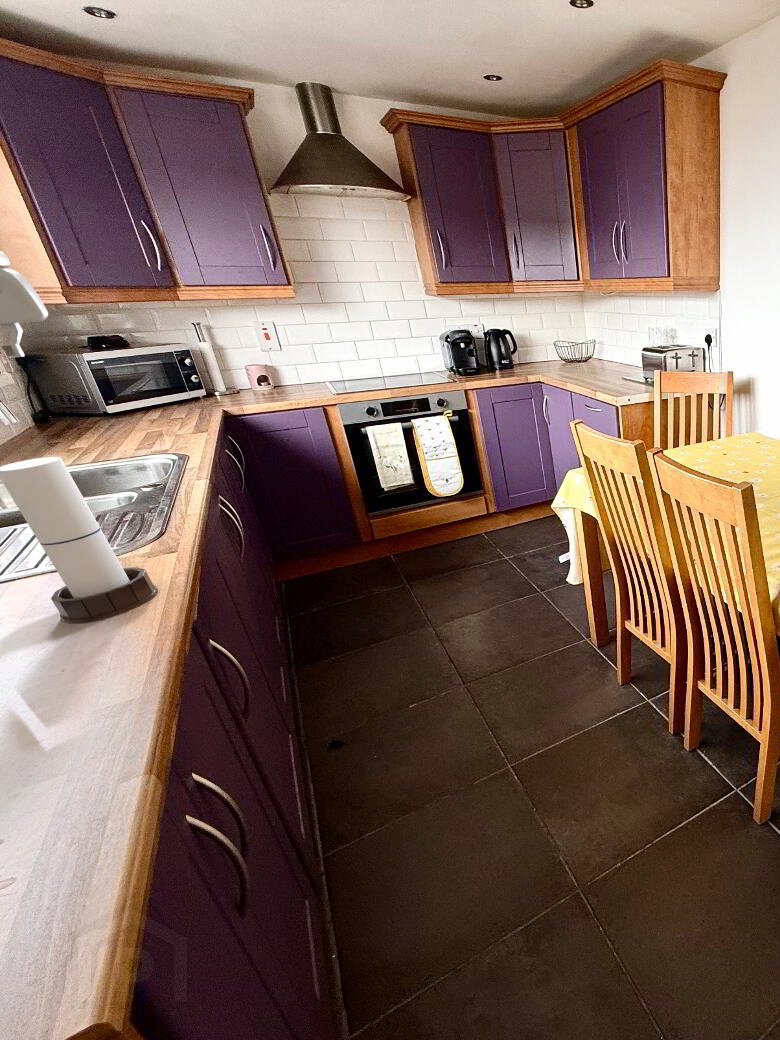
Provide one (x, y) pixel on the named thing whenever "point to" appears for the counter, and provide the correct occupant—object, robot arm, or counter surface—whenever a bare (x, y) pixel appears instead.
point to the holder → (106, 599)
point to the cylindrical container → (63, 525)
